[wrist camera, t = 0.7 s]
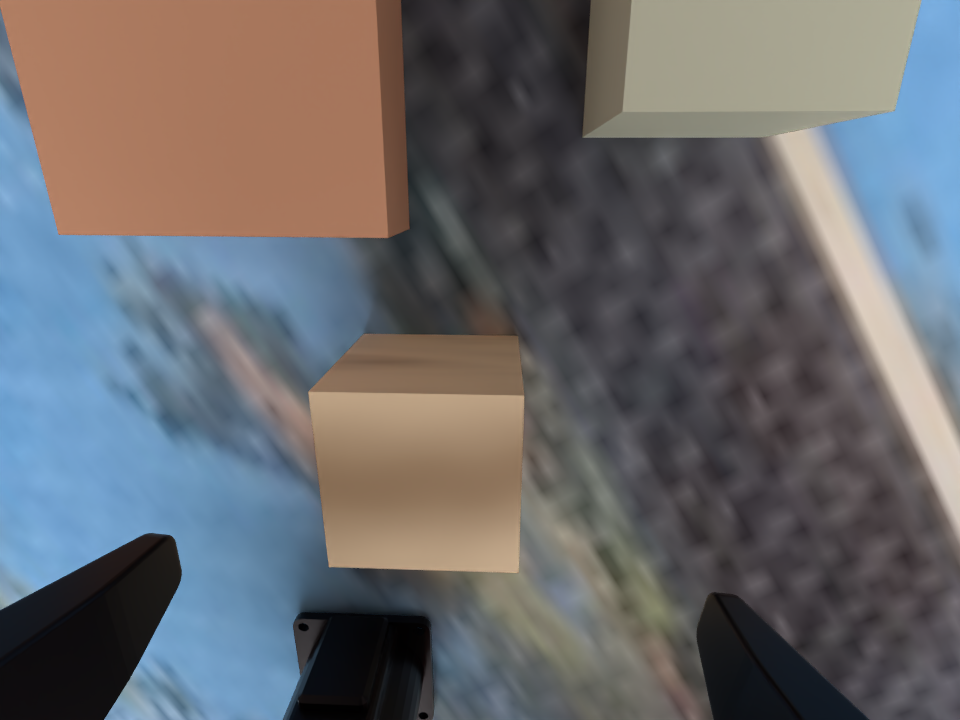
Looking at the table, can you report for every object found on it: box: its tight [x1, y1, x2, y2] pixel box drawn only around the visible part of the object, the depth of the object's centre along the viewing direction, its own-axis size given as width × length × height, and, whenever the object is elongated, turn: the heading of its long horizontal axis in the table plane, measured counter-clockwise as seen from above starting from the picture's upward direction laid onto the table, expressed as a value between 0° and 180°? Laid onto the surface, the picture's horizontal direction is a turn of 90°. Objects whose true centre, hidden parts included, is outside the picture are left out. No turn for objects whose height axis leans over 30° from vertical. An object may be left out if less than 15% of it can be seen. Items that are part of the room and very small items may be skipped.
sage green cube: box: [582, 0, 921, 138], centre depth 13 cm, size 6×6×6 cm
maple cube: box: [308, 334, 524, 573], centre depth 18 cm, size 6×6×6 cm
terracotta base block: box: [0, 0, 410, 238], centre depth 15 cm, size 10×10×4 cm
